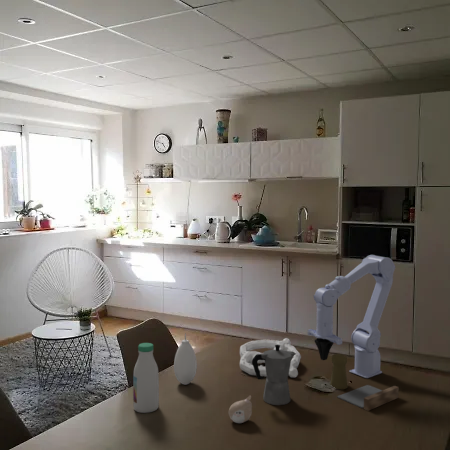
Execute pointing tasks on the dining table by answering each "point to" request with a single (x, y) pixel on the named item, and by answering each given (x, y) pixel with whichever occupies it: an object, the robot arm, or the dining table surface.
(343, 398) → the mat
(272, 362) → the coffeepot
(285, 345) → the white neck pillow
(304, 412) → the dining table surface
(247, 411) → the garlic bulb
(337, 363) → the cork
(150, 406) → the milk bottle
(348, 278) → the robot arm
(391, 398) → the stop rail
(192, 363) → the sauce bottle
